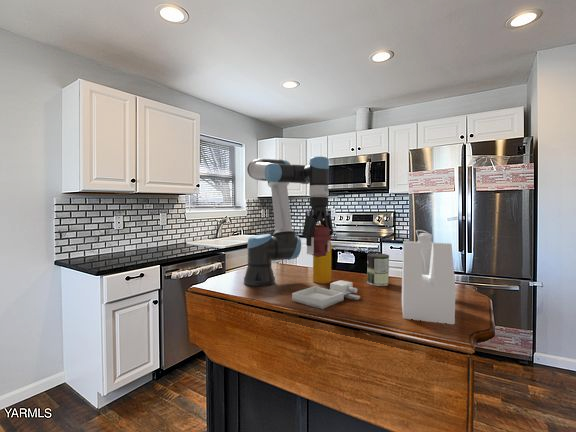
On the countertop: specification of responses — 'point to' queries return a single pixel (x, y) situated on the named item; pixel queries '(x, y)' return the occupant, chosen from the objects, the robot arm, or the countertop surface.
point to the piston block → (343, 287)
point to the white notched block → (428, 284)
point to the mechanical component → (321, 240)
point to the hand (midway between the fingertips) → (318, 252)
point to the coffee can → (377, 269)
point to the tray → (318, 297)
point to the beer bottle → (322, 268)
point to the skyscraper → (425, 250)
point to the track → (352, 296)
